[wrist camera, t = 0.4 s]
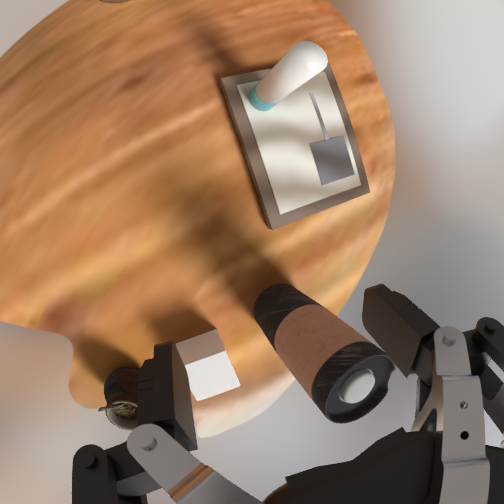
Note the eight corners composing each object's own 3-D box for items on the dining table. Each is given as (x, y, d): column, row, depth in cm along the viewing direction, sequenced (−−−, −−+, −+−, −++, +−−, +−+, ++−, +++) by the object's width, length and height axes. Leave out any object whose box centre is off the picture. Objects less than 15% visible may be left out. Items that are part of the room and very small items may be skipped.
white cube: (175, 342, 36) (178, 367, 30) (216, 328, 37) (225, 350, 32) (192, 375, 38) (197, 401, 32) (230, 361, 39) (240, 385, 33)
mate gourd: (140, 406, 36) (138, 453, 27) (97, 381, 34) (85, 427, 24) (164, 377, 37) (167, 425, 27) (119, 350, 34) (109, 395, 25)
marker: (245, 89, 30) (286, 40, 18) (270, 84, 31) (320, 39, 19) (253, 113, 31) (300, 75, 19) (278, 108, 32) (334, 71, 20)
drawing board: (218, 82, 31) (221, 77, 29) (323, 66, 34) (329, 61, 32) (268, 228, 36) (273, 230, 35) (363, 192, 40) (371, 192, 38)
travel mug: (240, 310, 38) (306, 407, 19) (281, 270, 38) (378, 336, 19) (275, 341, 40) (347, 433, 21) (312, 305, 41) (406, 376, 22)
